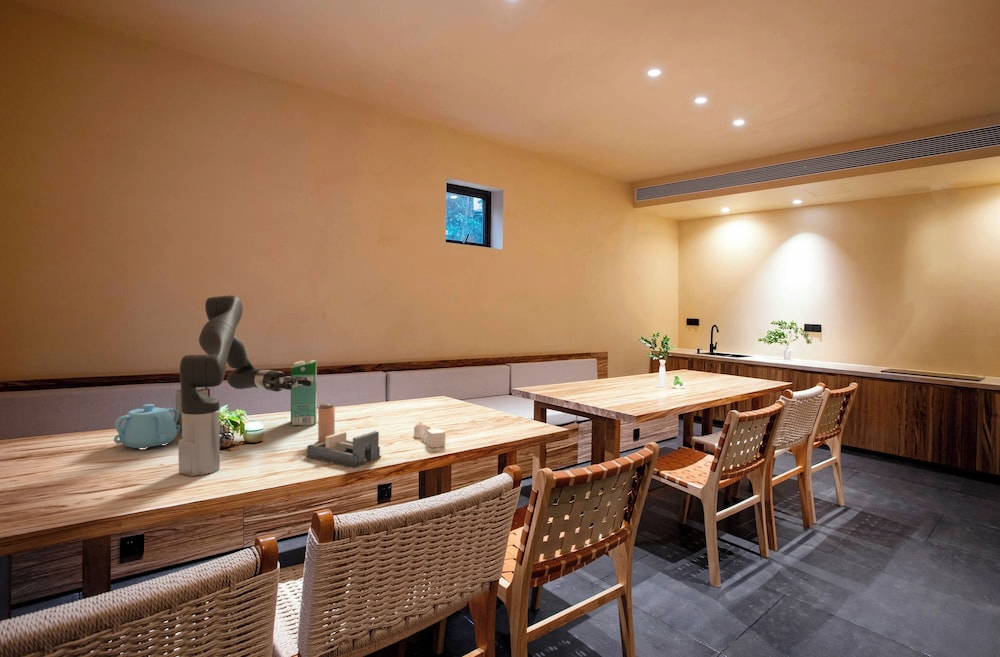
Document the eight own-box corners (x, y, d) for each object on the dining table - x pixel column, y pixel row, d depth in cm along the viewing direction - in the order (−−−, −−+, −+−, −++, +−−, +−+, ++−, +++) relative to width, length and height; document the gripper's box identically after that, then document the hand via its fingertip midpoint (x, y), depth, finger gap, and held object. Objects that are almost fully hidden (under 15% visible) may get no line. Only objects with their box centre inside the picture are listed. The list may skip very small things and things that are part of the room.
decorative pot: (187, 438, 175) (187, 399, 174) (162, 452, 159) (162, 409, 158) (136, 439, 173) (136, 399, 172) (106, 452, 157) (105, 409, 156)
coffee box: (211, 431, 184) (211, 388, 183) (199, 436, 177) (198, 391, 176) (188, 430, 185) (187, 387, 184) (175, 435, 178) (174, 390, 177)
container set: (445, 447, 173) (445, 431, 172) (431, 449, 170) (431, 433, 170) (424, 433, 190) (424, 419, 190) (411, 434, 187) (411, 420, 187)
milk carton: (292, 420, 203) (293, 359, 202) (316, 419, 206) (316, 359, 205) (290, 426, 195) (290, 362, 193) (315, 424, 197) (315, 361, 196)
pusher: (355, 462, 151) (355, 442, 151) (325, 455, 157) (325, 436, 157) (372, 456, 158) (372, 437, 157) (342, 449, 163) (342, 431, 163)
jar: (326, 444, 172) (326, 406, 171) (314, 441, 174) (314, 405, 174) (337, 440, 177) (338, 404, 176) (326, 438, 179) (326, 402, 178)
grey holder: (353, 468, 148) (354, 439, 148) (305, 457, 158) (306, 430, 157) (380, 457, 159) (381, 431, 159) (334, 447, 168) (334, 422, 168)
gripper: (253, 372, 181) (284, 377, 174) (286, 368, 194) (316, 372, 186) (253, 393, 182) (284, 398, 174) (286, 387, 194) (316, 392, 187)
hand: (301, 384), depth 180 cm, fingers open, 8 cm apart
